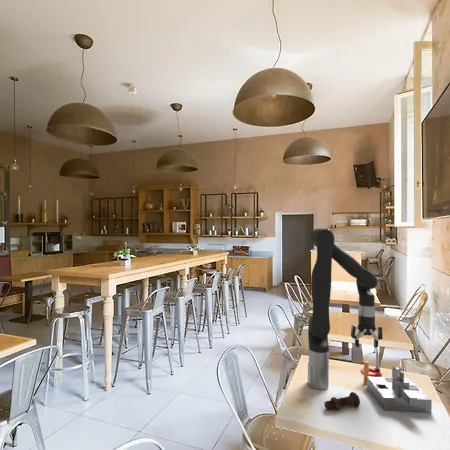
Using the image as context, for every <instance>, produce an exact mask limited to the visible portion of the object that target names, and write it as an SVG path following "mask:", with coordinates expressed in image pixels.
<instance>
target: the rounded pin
mask: <svg viewBox="0 0 450 450" xmlns="http://www.w3.org/2000/svg"><path fill="white" fill-rule="evenodd" d="M363 368H364V374H363V383H364V384H366V385H367V376H369V374H370V372H369V371H370V370H369V368H370V363H369V361H366V360H365V361H363Z"/></svg>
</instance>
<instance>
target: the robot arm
mask: <svg viewBox="0 0 450 450" xmlns="http://www.w3.org/2000/svg"><path fill="white" fill-rule="evenodd" d="M309 239H310V243H311V244H312V245H313V246H315V247H316V260H315V264H314V266H313V269H312V271H311V276H310V291H311V292H310V293H311V300H312V316H310V318H309V320H308V327H307V330H308V331H307V332H308V333H307V336H308V337H307V339H308V362H307V383H308V386H309V388H310V389H311V388H312V389H316V390H318V391H320V390H328V388H329V383H330V381H329V379H330V378H329V377H330V376H329V369H330V368H329V367H330V365H329V362H330V345H329V338H328V336H329V333H330V331H331V323H330V322H331V321H330V303H331V302H330V301H331V290H332V269H333V267H332V266H333V264H332V263H333V262H332V261H333V260H334V261H335V262H336V263H337V264H338V265H339V266H340V267H341V268H342V269H343V270H344V271H345V272H347V274H348V275H349V276H350V277H353V278H355V279H356V281H355V283H356V287H357V292H358V308H357V309H358V310H357V311H358V312H357V313H358V314H357V315H358V319H357V321H358V322H357V323H358V324H357V325H354V324H352V325H351V330H350V337H351V339H354V345H355V347H356V348H360V340H359V339H360V338H362V337H363V336H372V337H373V338H374V339H373V347H374V348H375V349H376V348H377V349H378V347H379V341H380V340H383V328H382V326H381V325H377V326H376V308H375V307H376V306H375V304H376V303H375V299H376V298H375V295H374V293H373V292H372V291H371V290H373V289H375V288H376V287H378V284H379V283H378V282H379V281H378V278H377V277H376V275H374V273H372V272H371V271H369V269H367V268H365V267H364V266H362V265H361V264H360V263H359V261H357V260H356V259H355V258H354V257H353V256H351V255H350V253H347V252H346V251H344V250H343V249H342V248H340V247H339V246H337V244H335V234H334V232H333V231H332V230H331V229H329V228H324V227H323V228H321V227H319V228H315V229H313V230H312V231H311V232H310V235H309ZM357 330H358V331H357ZM356 331H357V332H356ZM375 331H377V334H376V333H375Z"/></svg>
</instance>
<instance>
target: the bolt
mask: <svg viewBox="0 0 450 450" xmlns="http://www.w3.org/2000/svg"><path fill="white" fill-rule="evenodd" d="M360 404H361V399H360V397H359V395H358V394H357V393H356V392H354V391H351V392H350V393H349V395H348V396H345V397H340V398H337V397H335V396H332V397H331V398H330V400H325V401H324V404H323V406H324V409H326V410H327V411H329V410H334V411H339V410H340V409H341V408H343V407H348V406H354V408H359V406H360Z"/></svg>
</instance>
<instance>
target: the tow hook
mask: <svg viewBox="0 0 450 450" xmlns="http://www.w3.org/2000/svg"><path fill="white" fill-rule="evenodd" d="M379 356H380V355H379V349H378V347H377V348H375V367H373V368H370V367H369V371H370V372H373V373H369V376H371V377H378V376H379V377H383V374H382V372H381V369H380V363H379V362H380V361H379V360H380V359H379ZM360 373H361V374H362V375H364V367H363V368H361V369H360Z"/></svg>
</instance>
